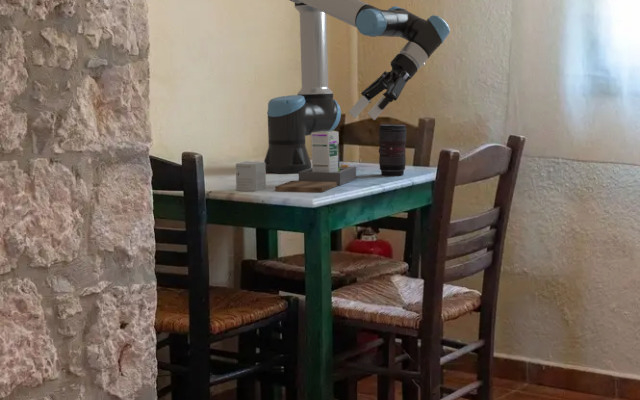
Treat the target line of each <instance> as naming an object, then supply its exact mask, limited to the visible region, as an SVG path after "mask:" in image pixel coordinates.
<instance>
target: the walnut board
mask: <svg viewBox="0 0 640 400" xmlns="http://www.w3.org/2000/svg"><path fill="white" fill-rule="evenodd" d="M336 187H338V185H337V182H324V181H299V180H291V181H287V182H284V183H282V184H278V185H276V186H274V188H275V189H274V190H275V192H294V193H295V192H298V193H299V192H300V193H301V192H302V193H304V192H305V193H324V192H326V191H329V190H331V189H333V188H336Z"/></svg>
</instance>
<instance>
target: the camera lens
mask: <svg viewBox="0 0 640 400" xmlns="http://www.w3.org/2000/svg"><path fill="white" fill-rule="evenodd" d="M406 141H407V127H406V125H405V124H380V125H379V129H378V142H379V148H378V153H379V155H378V157H379V158H378V159H379V160H378V163H379V170H380V173H381V176H384V177H397V176H403V175H405V172H404V171H405V170H406V161H407V160H406V159H407V157H406V145H407V144H406V143H407V142H406Z"/></svg>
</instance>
